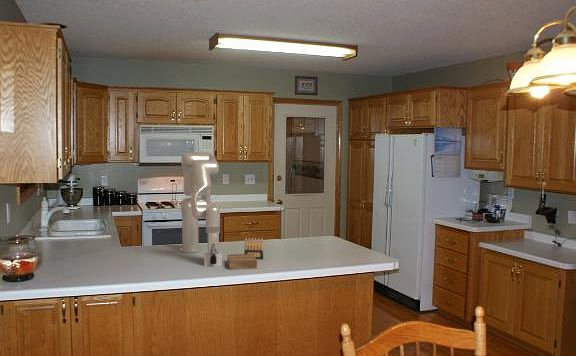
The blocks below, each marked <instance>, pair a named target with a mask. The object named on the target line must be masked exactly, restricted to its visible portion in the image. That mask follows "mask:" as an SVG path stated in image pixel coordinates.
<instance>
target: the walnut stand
mask: <svg viewBox="0 0 576 356" xmlns="http://www.w3.org/2000/svg"><path fill="white" fill-rule="evenodd" d="M257 260H258V259H256V258H255V256H254V254H244V253H243V254H227V266H228V268H229V269H228V270H251V269H252V270H253V269H254V270H255V269H258V261H257Z"/></svg>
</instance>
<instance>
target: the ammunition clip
mask: <svg viewBox="0 0 576 356" xmlns="http://www.w3.org/2000/svg"><path fill="white" fill-rule="evenodd" d="M247 238H248V239H247ZM263 242H264V241H263V238H262V237H261V238H259V237H258V238H256V237H255V238H253V237H251V238H250V237H245V239H244V253H243V254H254V256H255V258H256V260H264V243H263Z"/></svg>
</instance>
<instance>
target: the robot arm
mask: <svg viewBox="0 0 576 356" xmlns="http://www.w3.org/2000/svg"><path fill="white" fill-rule="evenodd" d="M180 162H181V168H182V171H183V193H184V195H185V196H187V198H186V197H185V198H183V199H181V201H180V212H181V221H182V222H181V224H182V226H181V228H182V229H181V230H182V231H181V233H182V234H181V239H182V240H181V241H182V245H181V246H182V247H180V248H179V252H181V253H190V254H191V253H198V252H200V251H202V247H200V245H199V240H200V239H199V220H203V219H205V234H207V253H211V256H210V264H216V252H218V244H219V235H218V234H220V233H221V208H220V207H219V206H217V205H216V204H213V203H211V196H212V195H211V191H212V190H211V188H212V181H211V180H212V179H211V175H212V176H213V175H215V176H216V175H218V174H219V171H220V166H219V163H218V161H217V159H216V157H214V155H213V154H212V153H211V152H205V151H204V152H202V151H200V152H198V151H195V152H193V151H190V152H189V151H188V152H185V153H183V154H182V155H181V159H180ZM200 196H201V197H200Z"/></svg>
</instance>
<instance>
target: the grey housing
mask: <svg viewBox="0 0 576 356" xmlns="http://www.w3.org/2000/svg"><path fill="white" fill-rule="evenodd" d="M203 253H204V257H203V258H204V259H203V260H204V267H210V266H211V267H213V266H215V267H217V266H222V265H223V260H222V259H223V254H222V251H220V252H219V251H217V252H216V264H210V256H211V252H203Z"/></svg>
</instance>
